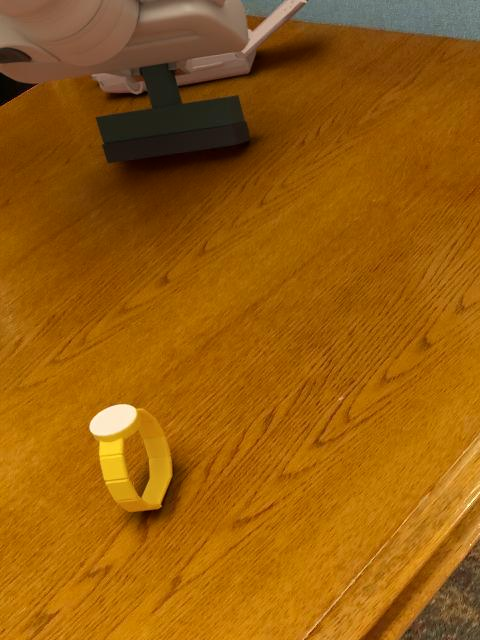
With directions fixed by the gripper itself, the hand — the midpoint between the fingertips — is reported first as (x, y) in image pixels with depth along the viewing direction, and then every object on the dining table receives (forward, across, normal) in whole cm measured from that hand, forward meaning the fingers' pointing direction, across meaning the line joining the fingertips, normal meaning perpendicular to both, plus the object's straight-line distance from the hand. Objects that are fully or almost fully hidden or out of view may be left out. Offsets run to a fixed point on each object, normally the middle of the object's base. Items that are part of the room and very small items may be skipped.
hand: (162, 69), depth 88 cm
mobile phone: (+15, +2, -6) cm, 16 cm away
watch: (-28, -9, +37) cm, 48 cm away
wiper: (+1, 0, +7) cm, 7 cm away
